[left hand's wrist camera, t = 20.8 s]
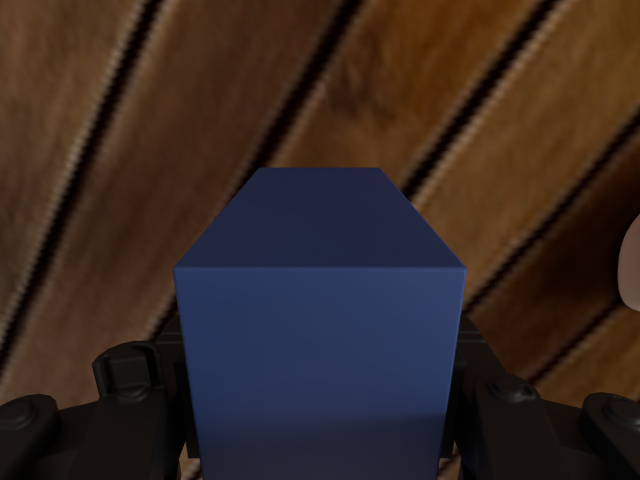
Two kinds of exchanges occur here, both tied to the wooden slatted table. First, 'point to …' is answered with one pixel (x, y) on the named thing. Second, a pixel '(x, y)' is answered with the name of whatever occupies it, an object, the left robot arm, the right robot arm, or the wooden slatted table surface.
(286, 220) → the brick
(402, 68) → the wooden slatted table surface
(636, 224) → the anatomical model
